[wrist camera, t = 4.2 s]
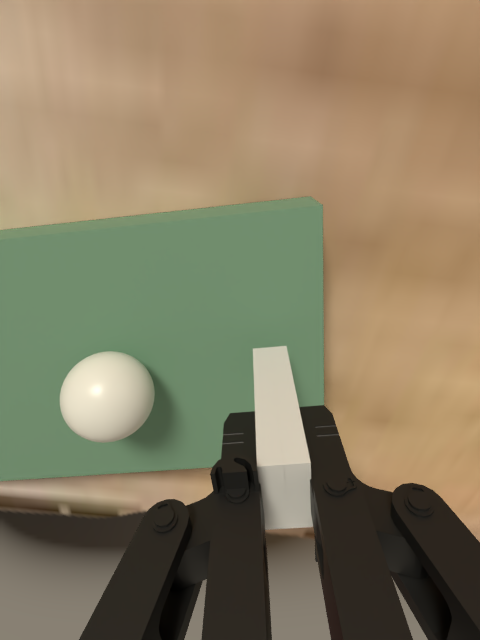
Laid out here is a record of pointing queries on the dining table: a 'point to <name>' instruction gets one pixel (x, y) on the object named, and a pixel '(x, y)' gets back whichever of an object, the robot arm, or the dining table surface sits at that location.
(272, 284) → the putting mat
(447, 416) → the dining table surface
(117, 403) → the ball
